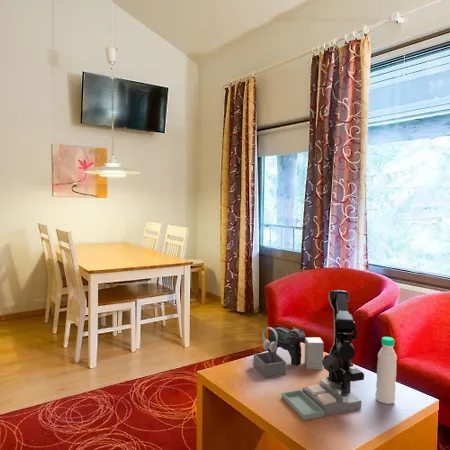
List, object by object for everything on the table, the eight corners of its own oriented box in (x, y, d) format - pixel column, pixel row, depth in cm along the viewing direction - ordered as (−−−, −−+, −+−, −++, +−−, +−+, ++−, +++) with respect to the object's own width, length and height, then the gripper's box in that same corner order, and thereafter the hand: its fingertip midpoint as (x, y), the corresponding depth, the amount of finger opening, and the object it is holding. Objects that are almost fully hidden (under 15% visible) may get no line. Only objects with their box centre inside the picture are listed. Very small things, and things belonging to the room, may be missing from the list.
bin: (300, 394, 162) (300, 389, 162) (324, 416, 146) (324, 411, 146) (281, 397, 159) (281, 392, 159) (304, 420, 143) (304, 415, 143)
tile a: (318, 387, 162) (318, 384, 162) (325, 393, 157) (325, 390, 157) (307, 389, 160) (307, 386, 160) (314, 395, 155) (314, 392, 155)
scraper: (336, 382, 166) (337, 372, 166) (360, 399, 152) (361, 389, 152) (320, 385, 164) (320, 375, 163) (342, 403, 150) (343, 393, 149)
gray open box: (273, 363, 191) (273, 351, 190) (285, 374, 179) (285, 361, 179) (253, 366, 187) (253, 354, 187) (264, 378, 176) (265, 364, 175)
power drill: (305, 365, 190) (306, 323, 188) (297, 369, 185) (298, 326, 184) (272, 352, 204) (273, 314, 203) (264, 356, 200) (265, 316, 198)
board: (335, 388, 167) (336, 381, 167) (361, 408, 152) (361, 400, 152) (302, 394, 162) (302, 387, 162) (324, 415, 147) (325, 407, 147)
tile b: (328, 395, 155) (328, 392, 155) (335, 402, 150) (336, 399, 150) (316, 397, 153) (317, 394, 153) (324, 404, 149) (324, 401, 149)
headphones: (259, 369, 185) (260, 326, 183) (264, 366, 188) (265, 324, 186) (273, 374, 179) (274, 331, 177) (279, 372, 182) (280, 329, 180)
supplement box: (323, 369, 185) (324, 343, 184) (307, 369, 185) (307, 342, 184) (319, 363, 192) (320, 337, 191) (304, 362, 193) (304, 336, 192)
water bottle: (393, 406, 154) (396, 343, 152) (373, 401, 157) (376, 339, 155) (396, 398, 160) (399, 337, 158) (377, 393, 163) (380, 333, 161)
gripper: (312, 343, 163) (311, 380, 164) (340, 361, 146) (339, 403, 147) (335, 340, 167) (334, 376, 168) (365, 358, 149) (364, 398, 151)
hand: (342, 388), depth 158 cm, fingers closed on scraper, 2 cm apart
